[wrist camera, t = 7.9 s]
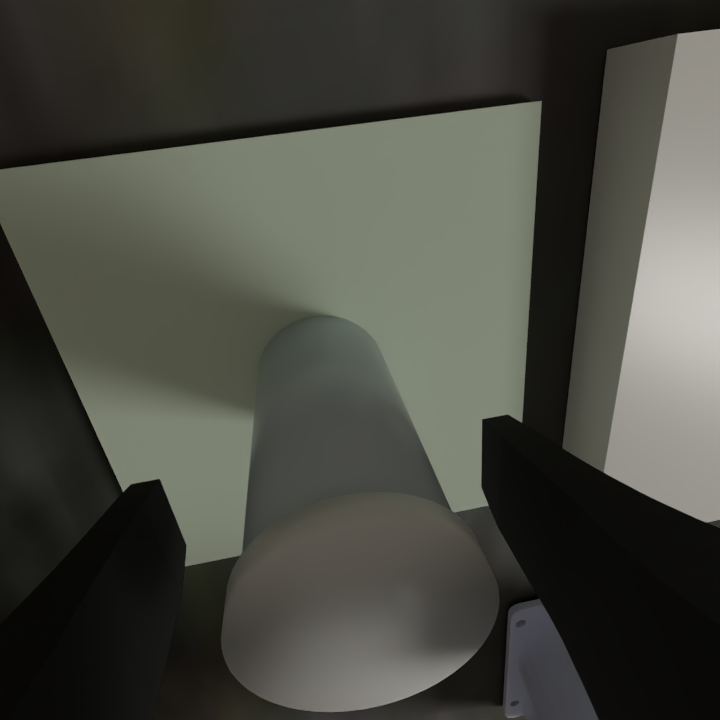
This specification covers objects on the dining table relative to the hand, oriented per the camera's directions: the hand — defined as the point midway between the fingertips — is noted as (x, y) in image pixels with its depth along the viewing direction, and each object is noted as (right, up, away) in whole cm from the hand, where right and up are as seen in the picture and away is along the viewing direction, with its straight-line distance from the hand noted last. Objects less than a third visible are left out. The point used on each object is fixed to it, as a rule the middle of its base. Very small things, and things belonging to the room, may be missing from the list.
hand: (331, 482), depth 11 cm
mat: (-1, +2, +5) cm, 5 cm away
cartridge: (-1, +2, +4) cm, 5 cm away
